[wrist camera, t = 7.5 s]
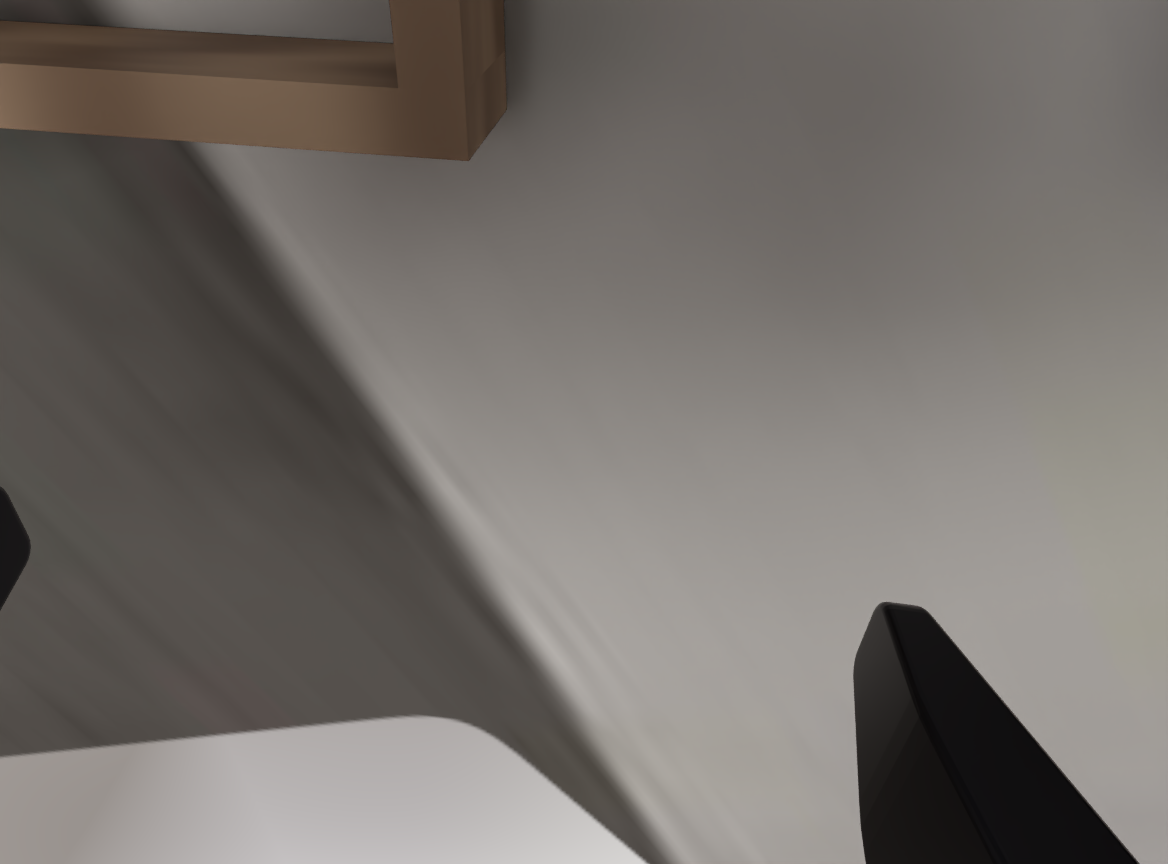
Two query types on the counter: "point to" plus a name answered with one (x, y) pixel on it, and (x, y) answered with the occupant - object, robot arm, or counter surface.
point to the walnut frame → (268, 83)
